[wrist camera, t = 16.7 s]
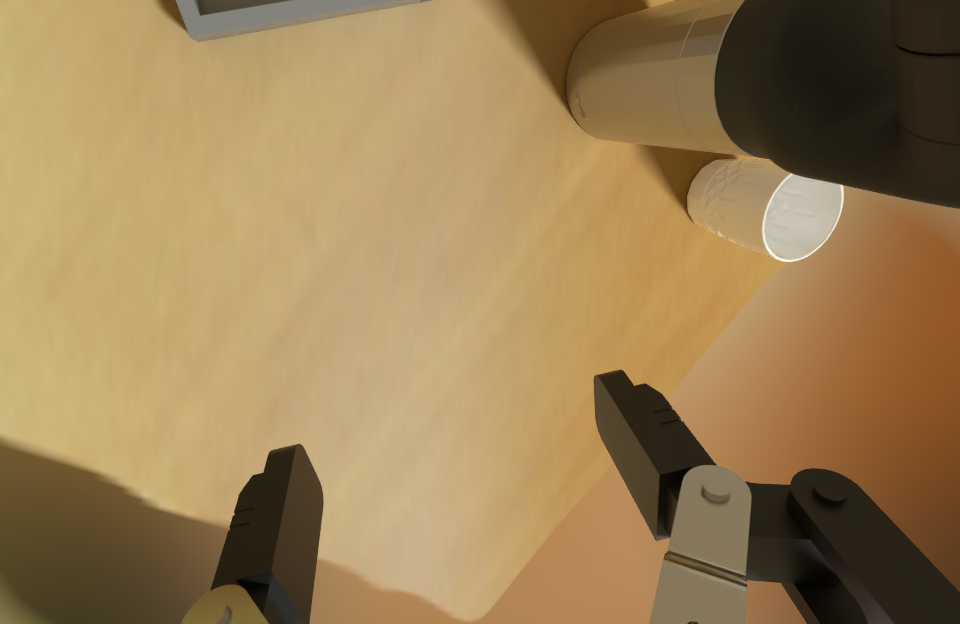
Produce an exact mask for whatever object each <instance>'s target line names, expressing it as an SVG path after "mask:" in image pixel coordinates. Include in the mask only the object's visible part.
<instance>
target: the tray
mask: <svg viewBox="0 0 960 624" xmlns="http://www.w3.org/2000/svg"><path fill="white" fill-rule="evenodd" d="M425 1H431V0H176V3H177V5H178V8H179V10H180V13H181V16H182V18H183V21H184V23H185V26H186V29H187V31H188V34H189V36H190V38H192V39H194V40H196V41H198V42H201V41H207V40H213V39H218V38H224V37H229V36H235V35H241V34H246V33H252V32H257V31H263V30H269V29H274V28H280V27H285V26H291V25H296V24H302V23H308V22H313V21H319V20H324V19H330V18H336V17H341V16H347V15H352V14H358V13H364V12H369V11H375V10H380V9H386V8H392V7H397V6H403V5H408V4H414V3H420V2H425Z"/></svg>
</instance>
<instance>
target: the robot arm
mask: <svg viewBox="0 0 960 624" xmlns="http://www.w3.org/2000/svg"><path fill="white" fill-rule="evenodd" d="M566 94H567V99H568V104H569V107H570V110H571V112H572V115H573V117H574V118H575V120H576V121H577V123H578V124H579V126H581V127H582V128H583V129H584V130H585V131H586V132H587V133H589V134H590V135H592V136H594V137H596V138H600V139H604V140H610V141H619V142H627V143H634V144H643V145H652V146H661V147H669V148H678V149H687V150H696V151H705V152H714V153H722V154H733V155H742V156H751V157H759V158H765V159H770V160H771V161H772V162H773V163H775V164H776V165H777V166H779V167H780V168H782V169H783V170H785V171H787V172H789V173H792V174H794V175H798V176H801V177H805V178H810V179H815V180H820V181H825V182H830V183H835V184H840V185H844V186H849V187H854V188H859V189H863V190H868V191H873V192H877V193H881V194H887V195H891V196H895V197H900V198H904V199H909V200H914V201H919V202H924V203H929V204H935V205H940V206H946V207H952V208H958V209H960V0H674V1H671V2H668V3H664V4H661V5H658V6H654V7H651V8H647V9H644V10H641V11H637V12H633V13H630V14H626V15H623V16H620V17H616V18H613V19H610V20H607V21H605V22H602V23H600V24H598V25H596V26H595V27H594V28H593V29H591V30H590V31H589V32H588V33H587V34H586V35H585V36H584V37H583V38H582V40H581V41H580V42H579V44H578V45H577V47H576V49H575V51H574V52H573V54H572V57H571V60H570V63H569V66H568V71H567V78H566ZM594 399H595V418H596V424H597V428H598V431H599V434H600V436H601V439H602V441H603V443H604V444H605V446H606V448H607V450H608V452H609V454H610V456H611V457H612V459H613V461H614V463H615V465H616V467H617V469H618V470H619V472H620V474H621V476H622V478H623V480H624V481H625V483H626V485H627V487H628V489H629V491H630V493H631V495H632V497H633V498H634V501H635V502H636V504H637V506H638V508H639V510H640V512H641V514H642V515H643V517H644V519H645V521H646V523H647V525H648V526H649V529H650V530H651V532H652V534H653V536H654V538H655V540H656V541H658V540H662V539H666V538H670V542H669V547H668V551H667V553H665V556H664V559H663V563H662V568H661V572H660V577H659V581H658V586H657V591H656V595H655V600H654V605H653V609H652V614H651V619H650V623H649V624H744V623H745V610H746V596H747V580H753V581H767V582H779V583H781V584H782V586H783V587H784V589H785V590H786V592H787V593H788V595H789V596H790V598H791V600H792V601H793V602H794V604H795V606H796V607H797V609H798V610H799V612H800V613H801V615H802V617H803V618H804V620H805V621H806V623H807V624H960V592H959V591H958V590H957V589H956V588H955V587H954V586H953V585H952V584H951V583H950V582H949V581H948V579H946V578H945V576H944V575H943V574H942V573H941V572H940V571H939V570H938V569H937V568H936V567H935V566H934V565H933V564H932V563H931V562H930V561H929V559H928V558H927V557H925V555H924V554H923V553H922V552H921V551H920V550H919V549H918V548H917V547H916V546H915V545H914V544H913V543H912V542H911V540H910V539H909V538H907V536H906V535H905V534H904V533H903V532H902V531H901V530H900V529H899V528H898V527H897V526H896V525H895V524H894V523H893V522H892V520H890V518H889V517H888V516H887V515H886V514H885V513H884V512H883V511H882V510H881V509H880V508H879V507H878V506H877V505H876V504H875V503H874V501H873V500H871V498H870V497H869V496H868V495H867V494H866V493H865V492H864V491H863V490H862V489H861V488H860V487H859V486H858V485H857V484H856V483H854V482H853V481H852V480H850V479H848V478H847V477H845V476H843V475H841V474H839V473H836V472H833V471H829V470H825V469H815V468H812V469H806V470H802V471H800V472H798V473H797V474H796V475H794V477H793V478H792V481H791V484H790V485H778V484H756V483H750V482H745V481H744V480H743V479H742V478H741V477H740V476H738V475H737V474H735V473H734V472H732V471H730V470H728V469H726V468H723V467H719V466H717V465H716V464H715V463H714V462H713V460H712V459H711V458H710V456H709V455H708V454H707V452H706V451H705V450H704V448H703V447H702V446H701V444H700V443H699V442H698V441H697V440H696V438H695V437H694V435H693V434H692V433H691V431H690V430H689V429H688V427H687V426H686V425H685V423H684V422H682V421H681V418H680V417H679V416H678V414H677V413H676V412H675V410H673V409H672V406H671V405H670V404H669V403H668V401H667V400H666V399H665V397H664V396H663V395H662V394H661V393H660V392H658V391H657V390H655V389H654V388H652V387H650V386H649V385H647V384H646V383H645V384H640V385H636V386H634V385H633V383H632V382H631V381H630V379H629V378H628V376H627V375H626V373H625V372H624V371H623V370H617V371H612V372H608V373H604V374H600V375H596V376H595V377H594ZM234 513H235V515H234V516H233V517H232V521H231V524H230V531H228V534H227V537H226V541H225V544H224V547H223V551H222V554H221V557H220V561H219V564H218V567H217V571H216V574H215V577H214V580H213V584H212V587H211V590H210V592H208V593H207V594H205V595H204V596H203V597H201V598H200V599H199V600H198V601H197V602H196V603H195V604H194V605H193V606H192V607H191V608H190V610H189V611H188V613H187V614H186V616H185V617H184V619H183V621H182V624H309V622H310V613H311V605H312V596H313V588H314V580H315V571H316V563H317V555H318V546H319V538H320V529H321V521H322V513H323V492H322V487H321V484H320V481H319V479H318V477H317V474H316V472H315V470H314V468H313V466H312V464H311V462H310V460H309V457H308V455H307V453H306V451H305V449H304V447H303V446H302V445H301V444H296V445H292V446H288V447H284V448H279V449H275V450H271V451H270V452H269V454H268V458H267V461H266V465H265V469H264V473H260V474H256V475H253V476H252V477H251V478H250V480H249V481H248V483H247V484H246V485H245V487H244V488H243V490H242V491H241V492H240V494H239V497H238V501H237V504H236V507H235V511H234Z"/></svg>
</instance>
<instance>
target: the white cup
mask: <svg viewBox="0 0 960 624" xmlns="http://www.w3.org/2000/svg"><path fill="white" fill-rule="evenodd" d="M843 195H844V193H843V185H840V184H835V183H830V182H825V181H820V180H815V179H810V178H805V177H801V176H798V175H794V174H792V173H789V172H787V171H785V170H783V169H782V168H780V167H779V166H777V165H776V164H775V163H773V162H772V161H771V160H763V159H742V160H738V159H721V160H714V161H713V162H711V163H710V164H708V165H706V166H705V167H703V168H702V169H701V170H700V171H699V173H698V174H697V175H696V177H695V178H694V179H693V181H692V183H691V186H690V189H689V192H688V195H687V209H688V214H689V215H690V217H691V219H692V220H693V222H694V224H696V225H698V226H700V227H702V228H704V229H706V230H709V231H711V232H714V233H716V234H717V235H718V236H720V237H723V238H726V239H727V240H730V241H732V242H735V243H737V244H739V245H741V246H744V247H747V248H749V249H752V250H754V251H757V252H760V253H762V254H765V255H767V256H770V257H772V258H775V259H777V260H780V261H784V262H792V261H797V260H800V259H803V258H805V257H807V256H809V255H810V254H812V253H813V252H815V251H816V250H817V249H818V248H819V247H820V246H821V245H822V244H823V243H824V242H825V241H826V240H827V238H828V237H829V236H830V234H831V233H832V231H833V230H834V228H835V226H836V224H837V222H838V219H839V217H840V214H841V210H842V206H843V197H844V196H843Z"/></svg>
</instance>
